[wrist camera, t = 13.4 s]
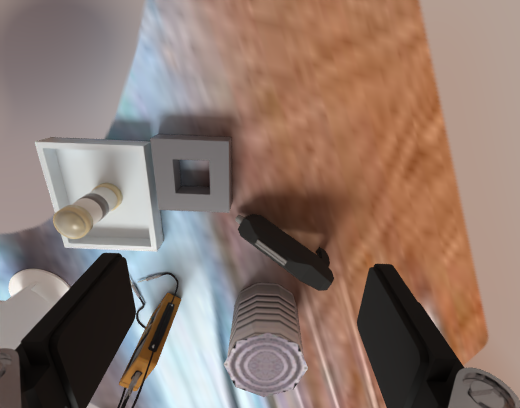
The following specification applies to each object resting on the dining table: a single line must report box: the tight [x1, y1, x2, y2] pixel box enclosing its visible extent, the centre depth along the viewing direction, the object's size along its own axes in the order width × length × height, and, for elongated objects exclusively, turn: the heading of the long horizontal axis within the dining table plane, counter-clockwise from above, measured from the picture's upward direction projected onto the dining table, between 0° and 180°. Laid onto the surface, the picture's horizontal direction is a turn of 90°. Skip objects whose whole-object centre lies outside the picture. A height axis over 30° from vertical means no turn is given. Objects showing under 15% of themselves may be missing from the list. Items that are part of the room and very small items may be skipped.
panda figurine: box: [0, 269, 71, 350], centre depth 44 cm, size 12×11×15 cm
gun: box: [235, 214, 334, 291], centre depth 43 cm, size 3×16×10 cm, turn 64°
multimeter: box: [117, 273, 181, 408], centre depth 41 cm, size 15×10×20 cm
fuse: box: [53, 183, 123, 239], centre depth 38 cm, size 4×4×9 cm
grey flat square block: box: [150, 134, 232, 213], centre depth 39 cm, size 10×10×3 cm
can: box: [224, 283, 308, 397], centre depth 45 cm, size 11×11×12 cm
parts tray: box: [35, 137, 164, 251], centre depth 41 cm, size 16×14×3 cm
